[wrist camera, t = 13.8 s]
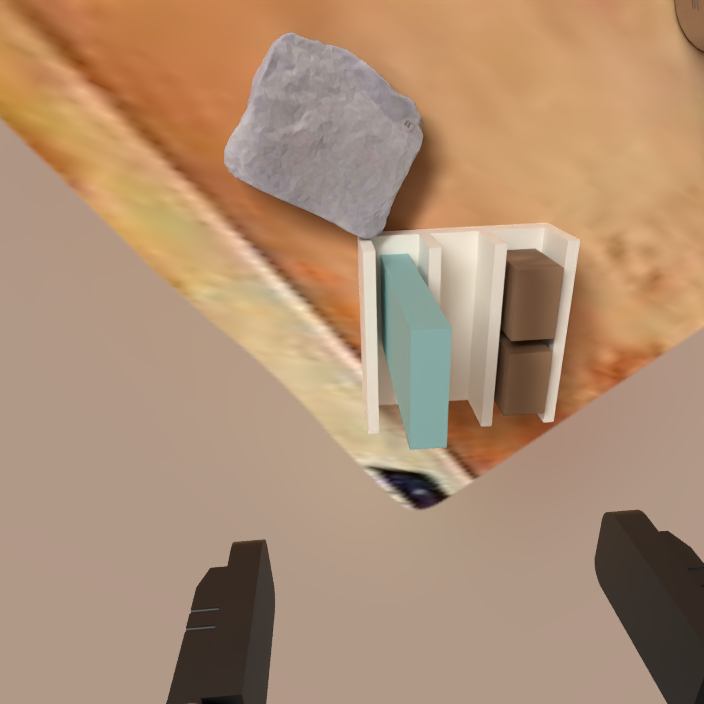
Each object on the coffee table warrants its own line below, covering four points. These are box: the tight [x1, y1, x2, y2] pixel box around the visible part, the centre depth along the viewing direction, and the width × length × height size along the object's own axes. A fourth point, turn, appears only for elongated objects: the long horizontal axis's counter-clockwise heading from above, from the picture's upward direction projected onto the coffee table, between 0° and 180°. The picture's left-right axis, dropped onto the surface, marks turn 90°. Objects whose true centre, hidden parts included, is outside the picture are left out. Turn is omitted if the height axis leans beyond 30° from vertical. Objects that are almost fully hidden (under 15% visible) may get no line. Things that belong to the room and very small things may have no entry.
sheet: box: [380, 253, 452, 450], centre depth 33 cm, size 2×7×14 cm, turn 3°
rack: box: [357, 223, 580, 434], centre depth 40 cm, size 14×14×6 cm
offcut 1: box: [500, 249, 564, 341], centre depth 37 cm, size 3×5×5 cm, turn 2°
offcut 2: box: [494, 328, 552, 416], centre depth 40 cm, size 3×5×5 cm, turn 2°
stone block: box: [224, 32, 423, 239], centre depth 35 cm, size 12×5×10 cm
